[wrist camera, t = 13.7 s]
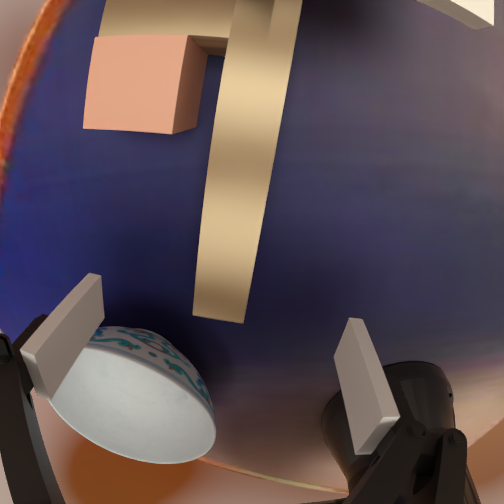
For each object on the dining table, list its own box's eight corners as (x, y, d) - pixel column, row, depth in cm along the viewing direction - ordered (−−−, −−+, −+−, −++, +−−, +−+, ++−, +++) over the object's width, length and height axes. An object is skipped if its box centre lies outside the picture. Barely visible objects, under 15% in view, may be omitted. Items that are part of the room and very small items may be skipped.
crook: (247, 274, 24) (243, 323, 19) (123, 253, 24) (90, 293, 18) (292, 24, 17) (303, -6, 11) (147, 13, 16) (110, -13, 11)
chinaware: (156, 418, 33) (141, 472, 26) (54, 334, 28) (18, 384, 21) (259, 371, 28) (257, 440, 21) (137, 254, 24) (94, 311, 17)
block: (196, 127, 20) (172, 134, 14) (126, 121, 20) (83, 128, 14) (208, 55, 18) (187, 34, 12) (136, 52, 17) (95, 37, 12)
